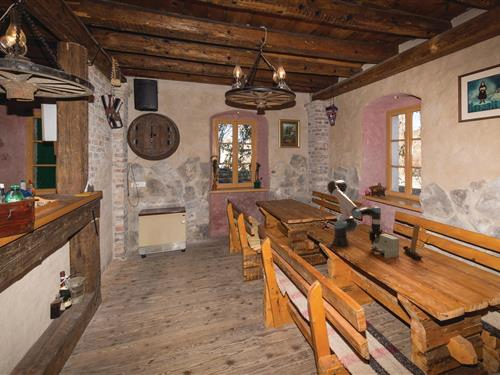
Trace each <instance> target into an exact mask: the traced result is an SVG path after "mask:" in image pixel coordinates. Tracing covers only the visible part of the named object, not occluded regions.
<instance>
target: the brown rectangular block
mask: <svg viewBox="0 0 500 375" xmlns="http://www.w3.org/2000/svg"><path fill="white" fill-rule="evenodd" d="M374 241H375V243H379V242H380V241H379V236H376V234H375V239H374ZM372 249H373V250H374V251H379V252H382V254H384V255H385V251H383V250H381V249H379V248H376V247H375V248H372Z"/></svg>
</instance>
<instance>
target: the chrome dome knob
mask: <svg viewBox="0 0 500 375" xmlns="http://www.w3.org/2000/svg"><path fill="white" fill-rule="evenodd" d="M374 254H375V255H376V256H377V255H378V256H381V255H383V253H382V252H380V251H378V250H374Z"/></svg>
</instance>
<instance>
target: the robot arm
mask: <svg viewBox="0 0 500 375" xmlns="http://www.w3.org/2000/svg"><path fill="white" fill-rule="evenodd" d="M347 188H348V183H347V182H346V181H345V180H343V179H339V180H332V181H329V182H328V183H327V188H326V189H327V190H328V192H329V194H331V196H334V197H335V198H336V199H337V202H338V205H339V209H340V213H341V217H342V218H341V219H340V220H339V219H338V220H336V221H335V222H334V237H333V240H332V245H334V246H337V247H341V248H342V247H347V246H349V240H348V233H349V232H354V231H356V230H357V228H358V222H357V220H356V219H357V218H361V217H365V216H369V217H371V229H369V230H368V231H369V241H371V249H373V248H375V247H374V246H372V244H374V243H375V241H374V239H375V235H376V236H379V242H380V234H383V229H381V221H382V220H381V215H382V214H381V213H382V211H381V210H382V208H381V207H380V206H376V205H375V206H372V207H368V206H360V208H359V207H358V205H356V204H355V203H354V202H353V201H352V200H351V199H350V198H349V197H347V195H346V193H347ZM354 218H355V219H354Z"/></svg>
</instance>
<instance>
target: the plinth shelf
mask: <svg viewBox="0 0 500 375" xmlns="http://www.w3.org/2000/svg"><path fill="white" fill-rule="evenodd" d="M372 246H374V247H376V248H379V249H381V250H383V251H385V254H384V256H383V257H384V259H390V258H395V257H399V255H400V253H399V252H400V237H396V236H393V235H391V234H388V233H382V234H380V241H379V243H374V244H371V247H372Z"/></svg>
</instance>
